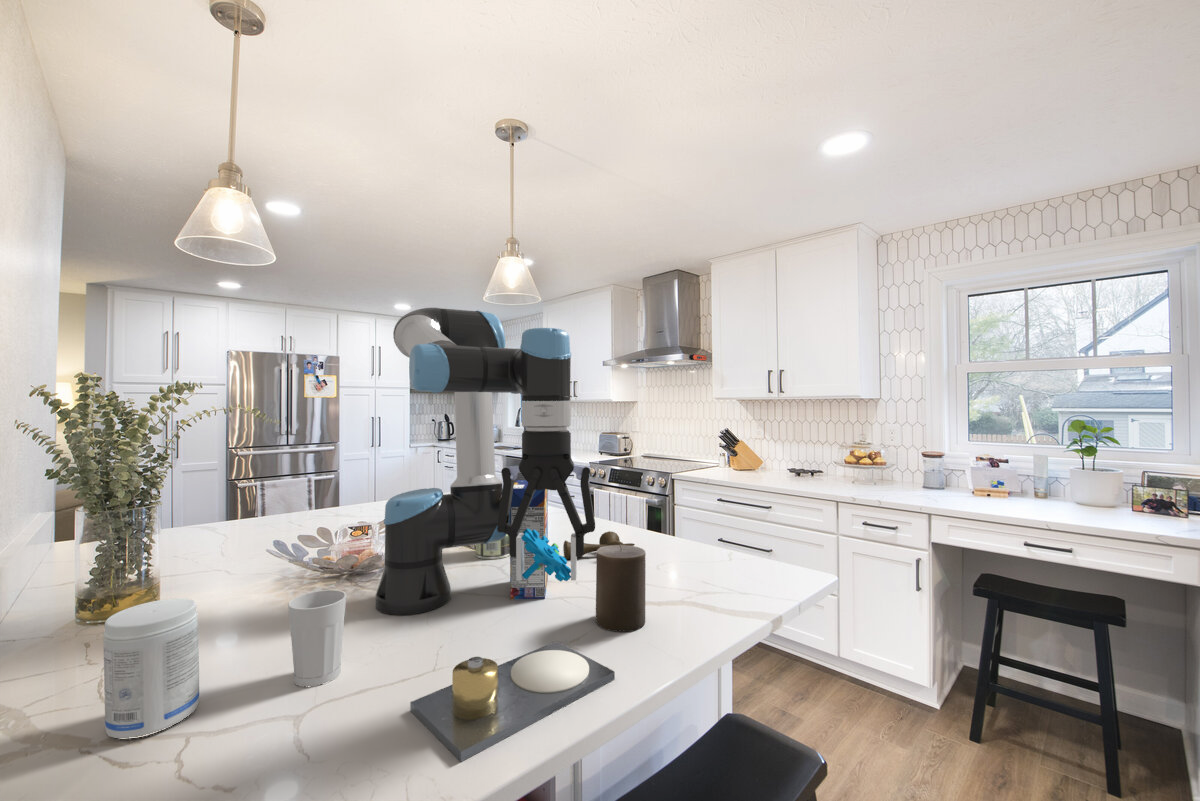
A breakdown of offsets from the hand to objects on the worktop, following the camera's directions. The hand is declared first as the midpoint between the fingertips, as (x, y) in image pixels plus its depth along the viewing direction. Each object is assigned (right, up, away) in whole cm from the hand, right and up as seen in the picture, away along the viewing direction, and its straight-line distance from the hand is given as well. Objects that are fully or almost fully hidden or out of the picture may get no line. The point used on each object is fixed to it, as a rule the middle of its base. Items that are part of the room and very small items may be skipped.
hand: (547, 577), depth 79 cm
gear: (0, 0, 0) cm, 0 cm away
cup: (-36, -16, +1) cm, 39 cm away
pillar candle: (+12, -16, +21) cm, 29 cm away
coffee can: (-22, -16, +65) cm, 70 cm away
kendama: (+8, -16, +63) cm, 65 cm away
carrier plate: (-4, -16, -4) cm, 17 cm away
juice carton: (-8, -16, +38) cm, 42 cm away
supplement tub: (-52, -16, -10) cm, 55 cm away
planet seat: (0, -14, 0) cm, 14 cm away
